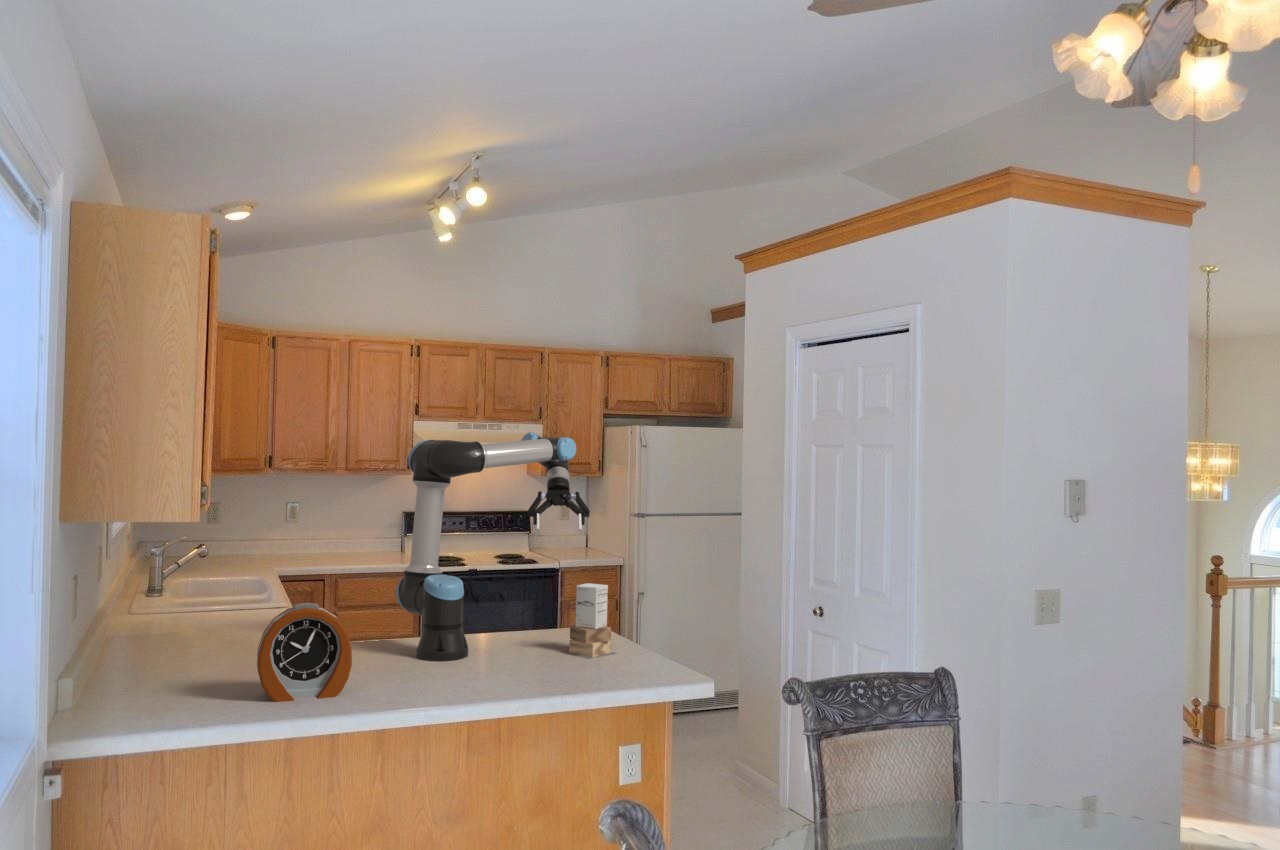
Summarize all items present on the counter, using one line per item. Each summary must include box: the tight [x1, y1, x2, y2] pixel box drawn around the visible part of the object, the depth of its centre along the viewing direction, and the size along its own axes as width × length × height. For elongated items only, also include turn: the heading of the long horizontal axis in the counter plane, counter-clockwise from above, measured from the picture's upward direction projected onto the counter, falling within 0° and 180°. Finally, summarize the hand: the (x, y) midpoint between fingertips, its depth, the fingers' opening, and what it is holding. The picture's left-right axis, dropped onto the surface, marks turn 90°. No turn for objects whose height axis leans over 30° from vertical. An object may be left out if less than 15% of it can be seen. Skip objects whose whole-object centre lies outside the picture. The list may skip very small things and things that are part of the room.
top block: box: [569, 624, 612, 644], centre depth 294 cm, size 9×9×4 cm
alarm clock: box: [256, 602, 353, 703], centre depth 242 cm, size 22×10×23 cm, turn 114°
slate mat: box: [562, 651, 619, 660], centre depth 294 cm, size 12×12×1 cm
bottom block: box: [568, 639, 612, 657], centre depth 294 cm, size 9×9×4 cm
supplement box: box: [575, 582, 609, 629], centre depth 294 cm, size 7×7×13 cm
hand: (559, 531), depth 312 cm, fingers open, 13 cm apart
